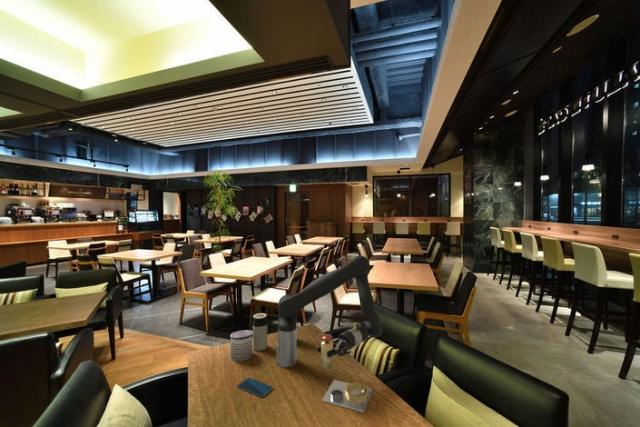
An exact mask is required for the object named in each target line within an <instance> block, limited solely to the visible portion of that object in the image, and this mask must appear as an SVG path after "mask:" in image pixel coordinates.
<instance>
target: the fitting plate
mask: <svg viewBox="0 0 640 427" xmlns="http://www.w3.org/2000/svg"><path fill="white" fill-rule="evenodd" d="M372 392H373V389H372V388H370V387H366V386H365V385H364V384H363V383H359V382H351V383H349V382H345V381H340V380H337V379H334V380H333V381H331V384H330V385H329V387H328V389H327V391H326V392H325V394H324V395H323V397H322V400H321V401H322V403H327V404H331V405H335V406H337V407H342V408H345V409H349V410H353V411H356V412H360V413H363V414H364V413H365V412H366V409H367V406H368V403H369V401H370V398H371V395H372Z"/></svg>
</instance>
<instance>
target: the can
mask: <svg viewBox="0 0 640 427" xmlns="http://www.w3.org/2000/svg"><path fill="white" fill-rule="evenodd" d="M229 336H230V337H229V338H230V359H231V360H232V361H234V362H242V361H246V360H249V359H250V358H251V357H252V356H253V330H249V329H246V330H245V329H244V330H237V331H234V332H231V333H230V335H229Z"/></svg>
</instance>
